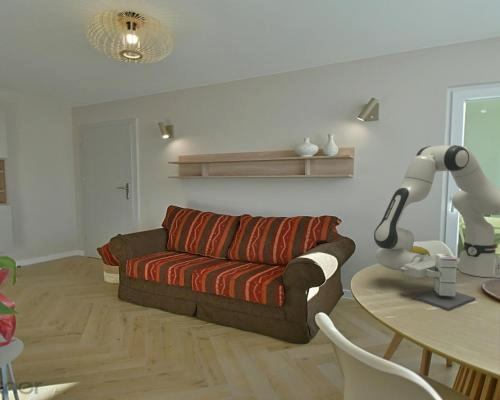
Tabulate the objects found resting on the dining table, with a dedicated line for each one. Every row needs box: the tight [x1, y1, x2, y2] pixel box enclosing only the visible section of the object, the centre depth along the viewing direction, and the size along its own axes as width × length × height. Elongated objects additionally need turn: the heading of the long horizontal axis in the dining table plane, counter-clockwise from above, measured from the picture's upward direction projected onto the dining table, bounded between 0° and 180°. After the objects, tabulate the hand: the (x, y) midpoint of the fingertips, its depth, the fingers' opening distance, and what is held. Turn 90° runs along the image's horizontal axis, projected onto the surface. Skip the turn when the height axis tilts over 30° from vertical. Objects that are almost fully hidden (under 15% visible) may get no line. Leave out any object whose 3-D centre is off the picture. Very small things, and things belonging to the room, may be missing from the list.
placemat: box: [412, 289, 476, 311], centre depth 125 cm, size 18×13×1 cm
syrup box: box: [433, 253, 458, 296], centre depth 124 cm, size 6×6×14 cm
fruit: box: [411, 245, 431, 256], centre depth 169 cm, size 10×11×10 cm
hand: (447, 272), depth 123 cm, fingers closed on syrup box, 8 cm apart
